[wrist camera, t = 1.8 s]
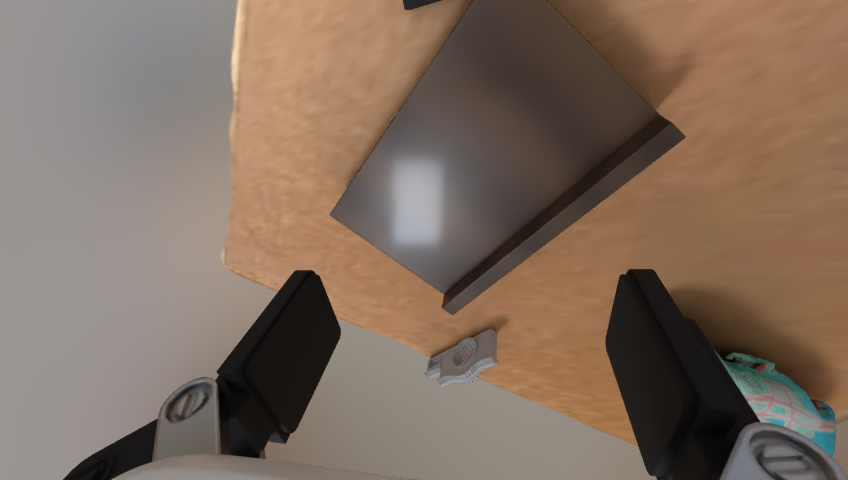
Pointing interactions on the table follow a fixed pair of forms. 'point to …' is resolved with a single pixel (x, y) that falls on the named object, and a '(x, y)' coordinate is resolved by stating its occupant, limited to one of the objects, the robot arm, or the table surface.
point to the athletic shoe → (781, 399)
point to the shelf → (500, 149)
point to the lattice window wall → (451, 359)
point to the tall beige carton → (416, 3)
